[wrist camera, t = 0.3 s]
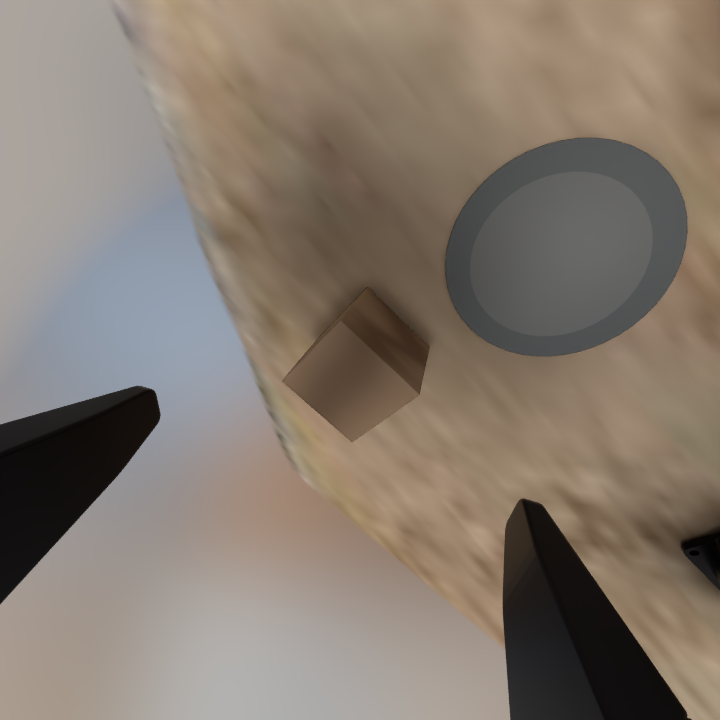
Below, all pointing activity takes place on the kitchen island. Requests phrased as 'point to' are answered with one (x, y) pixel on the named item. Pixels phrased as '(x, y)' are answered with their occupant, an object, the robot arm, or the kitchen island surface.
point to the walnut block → (361, 367)
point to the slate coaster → (566, 247)
